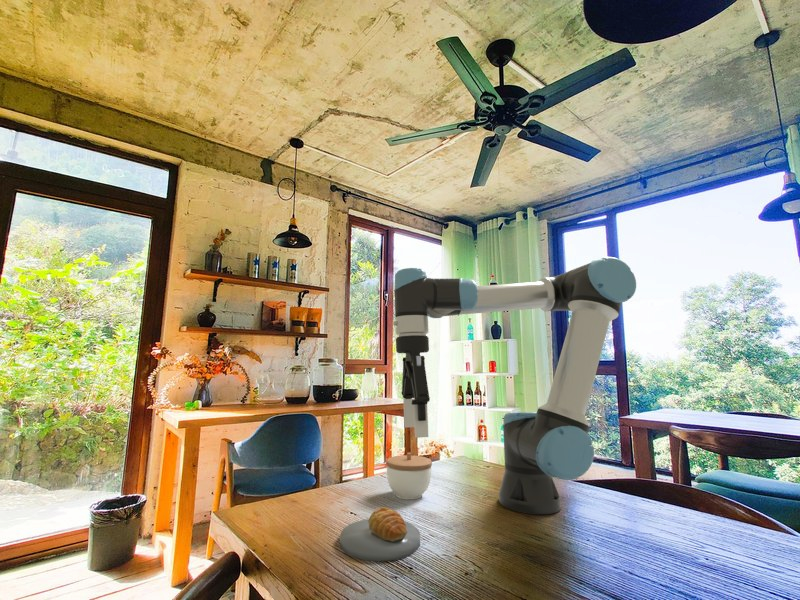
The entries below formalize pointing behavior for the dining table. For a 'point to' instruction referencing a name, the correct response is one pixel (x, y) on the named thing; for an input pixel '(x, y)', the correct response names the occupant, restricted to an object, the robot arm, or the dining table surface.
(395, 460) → the lidded bowl
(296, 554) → the dining table surface
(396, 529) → the pastry
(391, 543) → the grey rounded puck
